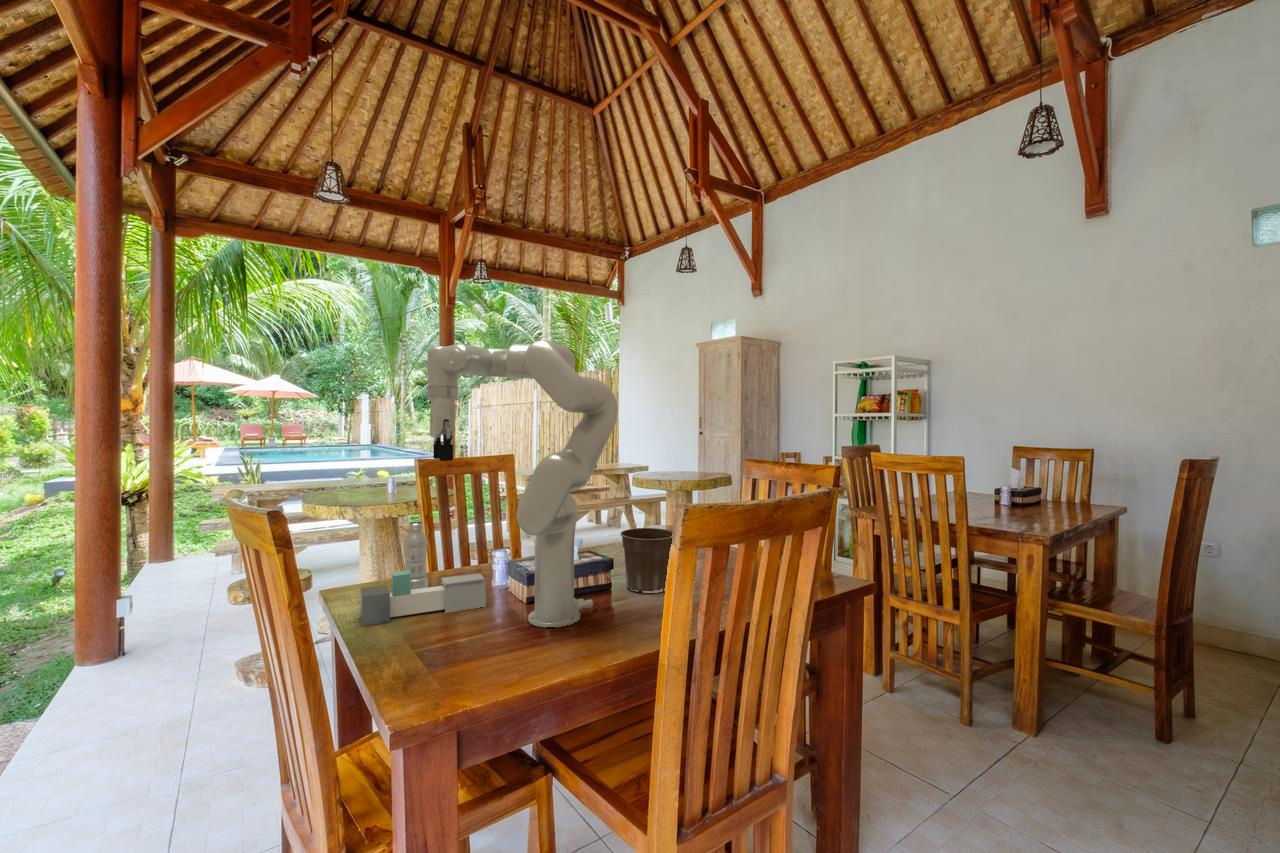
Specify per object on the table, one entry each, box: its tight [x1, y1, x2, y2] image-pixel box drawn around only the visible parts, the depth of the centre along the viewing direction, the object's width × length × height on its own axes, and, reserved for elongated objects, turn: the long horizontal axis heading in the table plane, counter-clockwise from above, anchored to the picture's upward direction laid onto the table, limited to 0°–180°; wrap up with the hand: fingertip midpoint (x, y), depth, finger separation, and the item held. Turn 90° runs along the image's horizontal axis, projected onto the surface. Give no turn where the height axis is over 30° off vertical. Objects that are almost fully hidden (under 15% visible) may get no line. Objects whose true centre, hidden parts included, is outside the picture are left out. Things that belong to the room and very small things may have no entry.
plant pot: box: [620, 527, 674, 593], centre depth 166 cm, size 16×16×16 cm
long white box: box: [389, 570, 445, 618], centre depth 143 cm, size 20×4×10 cm, turn 118°
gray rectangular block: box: [440, 572, 487, 614], centre depth 150 cm, size 10×7×7 cm
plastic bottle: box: [403, 521, 429, 590], centre depth 160 cm, size 6×7×20 cm
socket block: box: [359, 584, 391, 627], centre depth 140 cm, size 6×8×7 cm
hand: (443, 459), depth 150 cm, fingers open, 9 cm apart
